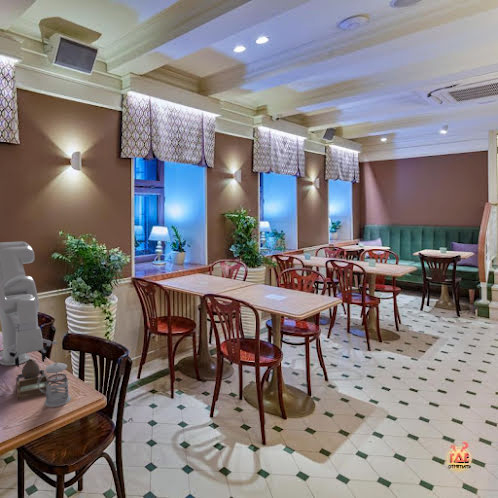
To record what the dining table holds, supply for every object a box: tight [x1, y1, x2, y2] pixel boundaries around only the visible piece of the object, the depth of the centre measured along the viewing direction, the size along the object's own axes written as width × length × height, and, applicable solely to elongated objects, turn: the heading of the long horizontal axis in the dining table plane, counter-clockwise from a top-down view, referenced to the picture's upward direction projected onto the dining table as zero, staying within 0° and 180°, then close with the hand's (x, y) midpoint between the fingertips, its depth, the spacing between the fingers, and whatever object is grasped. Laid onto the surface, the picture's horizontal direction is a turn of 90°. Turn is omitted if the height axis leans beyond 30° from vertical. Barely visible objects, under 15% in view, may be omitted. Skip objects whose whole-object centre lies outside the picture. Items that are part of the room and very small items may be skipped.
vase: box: [21, 358, 41, 380], centre depth 169 cm, size 7×7×9 cm
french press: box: [37, 340, 72, 408], centre depth 149 cm, size 10×12×25 cm
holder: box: [16, 374, 51, 401], centre depth 159 cm, size 12×12×3 cm
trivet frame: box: [17, 369, 45, 381], centre depth 169 cm, size 10×10×1 cm
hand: (30, 363), depth 168 cm, fingers open, 9 cm apart
